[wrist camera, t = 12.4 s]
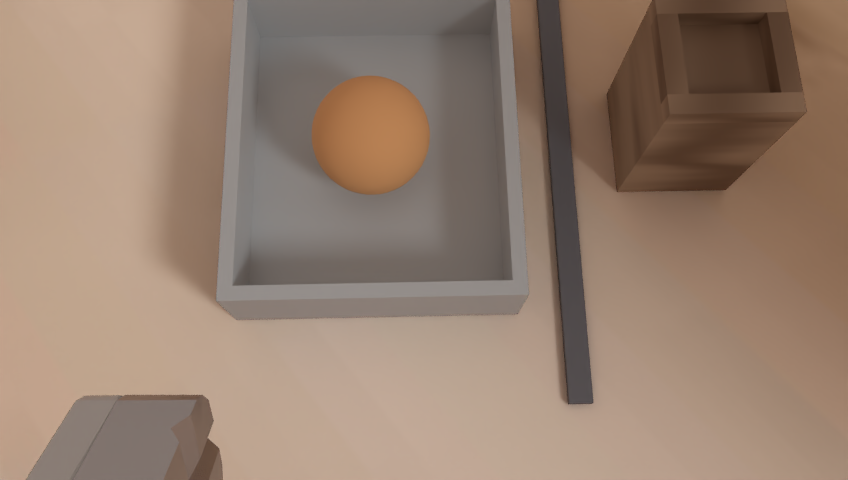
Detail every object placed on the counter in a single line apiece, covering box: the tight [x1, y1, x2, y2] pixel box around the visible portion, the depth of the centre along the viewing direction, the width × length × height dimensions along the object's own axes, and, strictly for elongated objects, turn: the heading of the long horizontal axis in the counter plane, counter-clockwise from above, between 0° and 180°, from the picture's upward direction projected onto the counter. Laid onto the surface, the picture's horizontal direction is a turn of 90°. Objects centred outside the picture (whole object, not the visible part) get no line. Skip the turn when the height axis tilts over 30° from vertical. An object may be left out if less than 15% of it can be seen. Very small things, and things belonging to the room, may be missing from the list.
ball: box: [312, 76, 430, 195], centre depth 33 cm, size 5×5×5 cm
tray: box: [216, 0, 529, 320], centre depth 34 cm, size 12×14×4 cm
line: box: [537, 0, 593, 404], centre depth 36 cm, size 1×22×1 cm, turn 1°
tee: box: [607, 0, 807, 192], centre depth 33 cm, size 5×5×8 cm
